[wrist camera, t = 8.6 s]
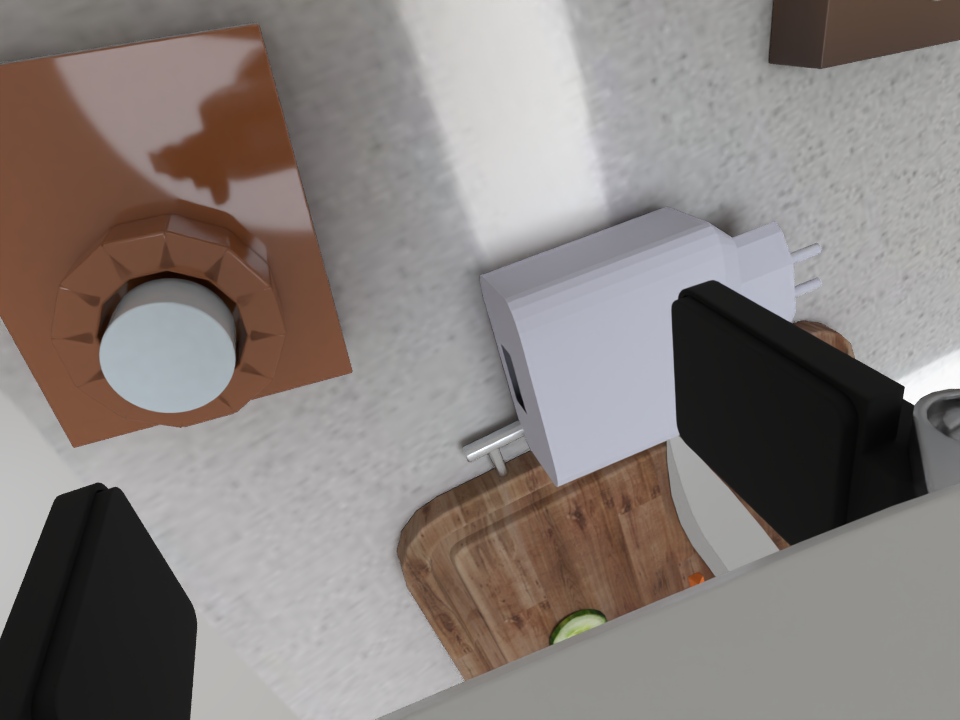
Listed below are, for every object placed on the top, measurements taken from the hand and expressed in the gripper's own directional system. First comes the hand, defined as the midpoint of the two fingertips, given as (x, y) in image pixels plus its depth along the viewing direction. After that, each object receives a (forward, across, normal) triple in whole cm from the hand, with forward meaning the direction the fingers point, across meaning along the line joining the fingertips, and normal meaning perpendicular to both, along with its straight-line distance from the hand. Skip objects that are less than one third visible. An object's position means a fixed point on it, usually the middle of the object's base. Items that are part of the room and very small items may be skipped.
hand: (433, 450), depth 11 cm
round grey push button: (+12, +6, +1) cm, 14 cm away
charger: (+17, -13, +8) cm, 23 cm away
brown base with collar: (+17, +6, -1) cm, 18 cm away
